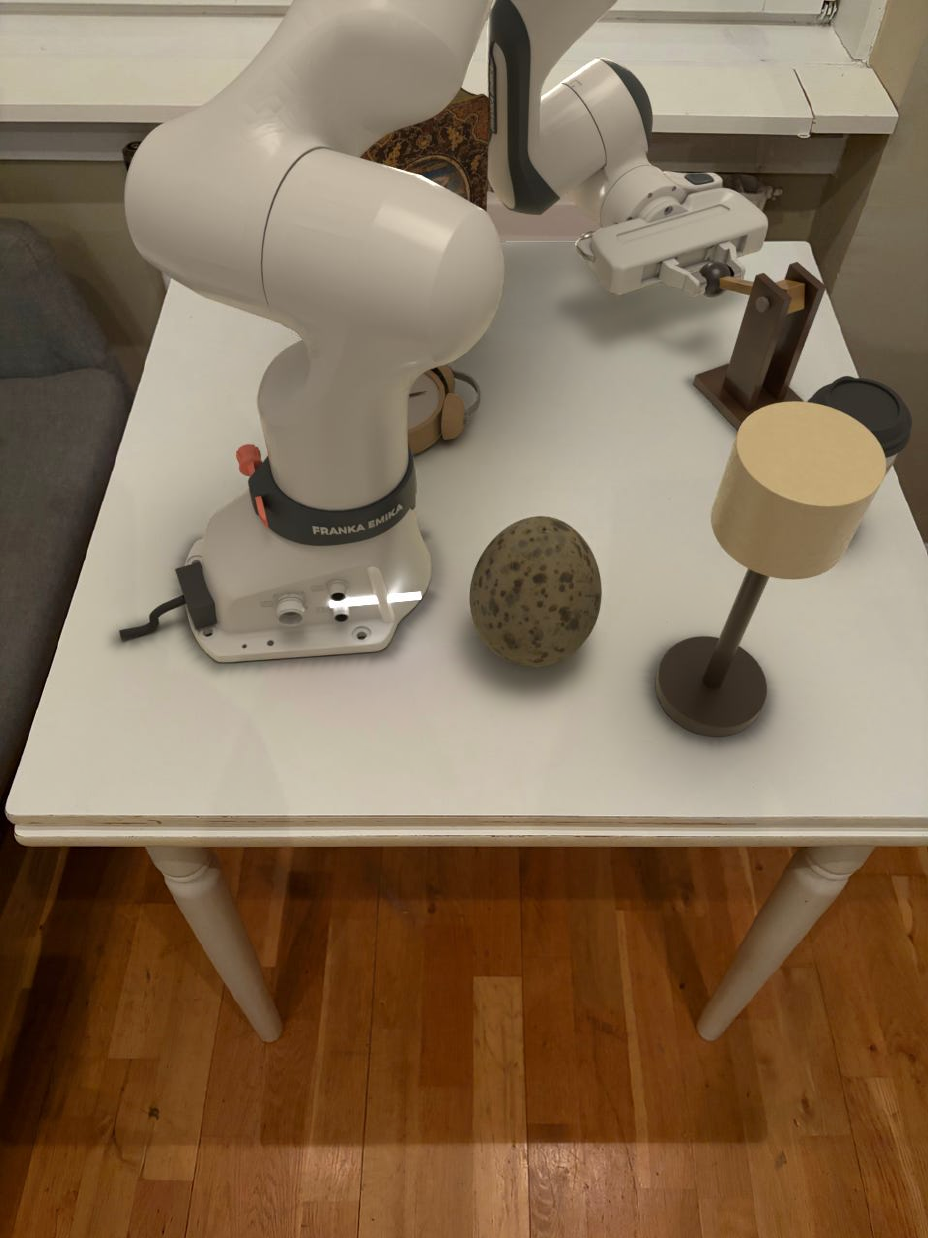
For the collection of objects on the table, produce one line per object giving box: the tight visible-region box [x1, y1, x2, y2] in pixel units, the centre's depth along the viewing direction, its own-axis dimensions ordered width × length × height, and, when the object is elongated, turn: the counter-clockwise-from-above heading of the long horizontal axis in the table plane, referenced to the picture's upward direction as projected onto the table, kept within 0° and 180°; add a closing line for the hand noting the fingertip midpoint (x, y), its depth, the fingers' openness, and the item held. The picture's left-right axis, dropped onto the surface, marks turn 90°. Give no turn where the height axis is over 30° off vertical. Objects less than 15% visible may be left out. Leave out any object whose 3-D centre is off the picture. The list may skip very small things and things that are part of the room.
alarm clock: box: [408, 364, 481, 455], centre depth 98 cm, size 11×5×15 cm
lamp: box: [654, 401, 886, 738], centre depth 69 cm, size 9×9×28 cm
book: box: [360, 87, 489, 213], centre depth 98 cm, size 16×6×25 cm, turn 122°
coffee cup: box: [806, 375, 913, 477], centre depth 86 cm, size 9×9×15 cm
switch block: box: [692, 261, 827, 431], centre depth 96 cm, size 10×8×15 cm
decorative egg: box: [468, 515, 603, 667], centre depth 77 cm, size 11×11×15 cm
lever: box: [698, 261, 805, 314], centre depth 96 cm, size 14×4×4 cm, turn 27°
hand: (720, 283), depth 99 cm, fingers closed on lever, 3 cm apart
